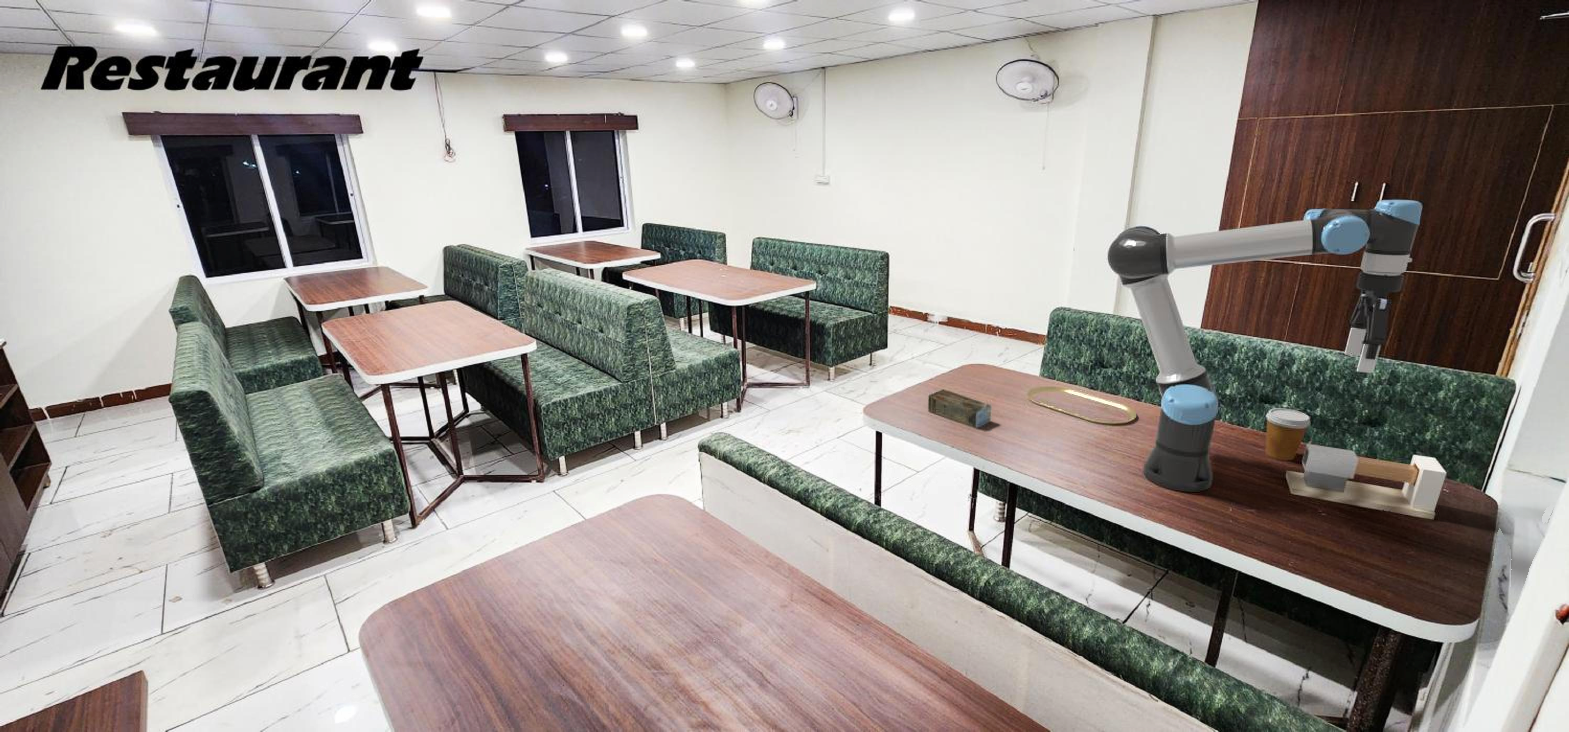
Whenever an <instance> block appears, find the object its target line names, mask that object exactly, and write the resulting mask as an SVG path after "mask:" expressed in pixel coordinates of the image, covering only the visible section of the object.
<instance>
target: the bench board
mask: <svg viewBox="0 0 1569 732" xmlns="http://www.w3.org/2000/svg"><path fill="white" fill-rule="evenodd" d="M1304 473H1305V472H1304ZM1304 473H1303V472H1297V471H1292V470H1286V474H1285V478H1286V480H1287V481H1286V482H1287V484H1288V488H1289V491H1290V493H1291V494H1292V495H1296V496H1297V495H1298V496H1302V497H1308V498H1312V499H1313V498H1314V499H1318V500H1319V499H1320V500H1324V501H1330V502H1335V503H1340V504H1346V505H1350V506H1351V505H1352V506H1356V507H1357V506H1358V507H1361V508H1367V509H1371V510H1372V509H1373V510H1379V511H1383V510H1384V511H1385V512H1389V511H1390V512H1389V513H1393V514H1394V513H1395V514H1400V515H1401V514H1402V515H1404V516H1405V515H1407V516H1412V517H1417V518H1420V519H1421V518H1422V519H1428V520H1434V518H1435V516H1436V512H1435V511H1434V512H1433V511H1427V510H1422V509H1416V508H1412V507H1411V506H1410V504H1409V502H1408V501H1407V499H1406V497H1405V496H1404V494H1403V493H1402V490H1403V489H1398V488H1393V487H1392V488H1391V487H1385V486H1381V485H1380V486H1379V485H1375V484H1370V483H1369V484H1368V483H1363V482H1357V481H1351V480H1347V482H1346V486H1345V489H1344V493H1341V492H1336V491H1330V490H1324V489H1319V488H1313V487H1307V486H1306V484H1305V481H1304V478H1303V477H1304ZM1384 511H1383V512H1384Z"/></svg>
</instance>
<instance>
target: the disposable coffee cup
mask: <svg viewBox="0 0 1569 732" xmlns="http://www.w3.org/2000/svg"><path fill="white" fill-rule="evenodd" d="M1265 418H1266V422H1267V423H1266V435H1265V436H1266V437H1265V451H1264V452H1265V454H1266V455H1267V456H1268V457H1270V458H1273V459H1275V460H1280V461H1292V460H1294V459H1295V457H1296V455H1297V452H1298V451H1299V448H1300V445H1301V443H1302V440H1303V437H1304V435H1305V434H1306V431H1307V429H1308V427H1310V425H1311V420H1310V416H1309V415H1307V414H1306V413H1304V412H1302V411H1298V410H1295V409H1290V408H1282V407H1280V408H1277V407H1276V408H1271V409H1269V410H1268V412H1267V413H1266V415H1265Z"/></svg>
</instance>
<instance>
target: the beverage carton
mask: <svg viewBox="0 0 1569 732" xmlns="http://www.w3.org/2000/svg"><path fill="white" fill-rule="evenodd" d="M927 399H928V404H927V405H928V406H927V410H928V412H930V413H932V414H934V415H938V416H941V417H943V418H946V419H949V420H951V421H954V422H957V423H960V424H963V425H965V426H968V427H971V428H974V429H978V428H979V427H982V426H984V425H986V424H988V423H990V422H991V411H992V410H991V409H992V406H991V405H990V404H987V403H984V402H981V401H978V400H976V399H973V398H970V397H967V396H965V395H962V394H959V393H955V392H953V391H951V390H948V389H947V390H946V389H943V388H942V389H941V390H938V391H935V392H934V393H931V394H929V395H928V398H927Z"/></svg>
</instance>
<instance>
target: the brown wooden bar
mask: <svg viewBox="0 0 1569 732" xmlns="http://www.w3.org/2000/svg"><path fill="white" fill-rule="evenodd" d="M1357 458H1358V463H1357V467H1356V470H1355V474H1354V475H1359V476H1364V477H1372V478H1375V479H1376V478H1378V479H1383V480H1390V481H1395V482H1401V483H1405V482H1407V483H1413V484H1416V481H1417V478H1418V475H1419V471H1420V470H1419V468H1418V467H1417V466H1416V465H1410V464H1409V463H1401V462H1395V461H1390V460H1382V459H1377V458H1376V459H1375V458H1371V457H1370V458H1369V457H1364V456H1362V457H1361V456H1357Z"/></svg>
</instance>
